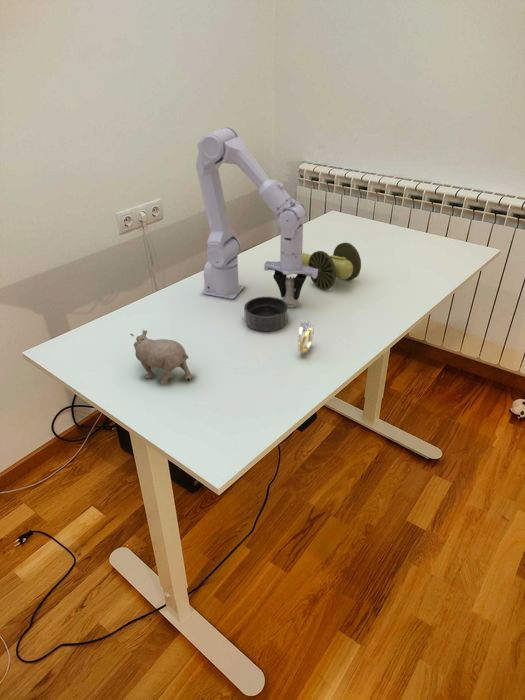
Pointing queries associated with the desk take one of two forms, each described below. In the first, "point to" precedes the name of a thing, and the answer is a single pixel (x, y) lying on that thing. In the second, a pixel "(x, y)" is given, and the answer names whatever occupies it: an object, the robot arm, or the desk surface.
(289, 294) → the rook chess piece
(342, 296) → the desk surface
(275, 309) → the bowl
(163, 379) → the brown animal figurine
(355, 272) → the cannon
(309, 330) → the ring
